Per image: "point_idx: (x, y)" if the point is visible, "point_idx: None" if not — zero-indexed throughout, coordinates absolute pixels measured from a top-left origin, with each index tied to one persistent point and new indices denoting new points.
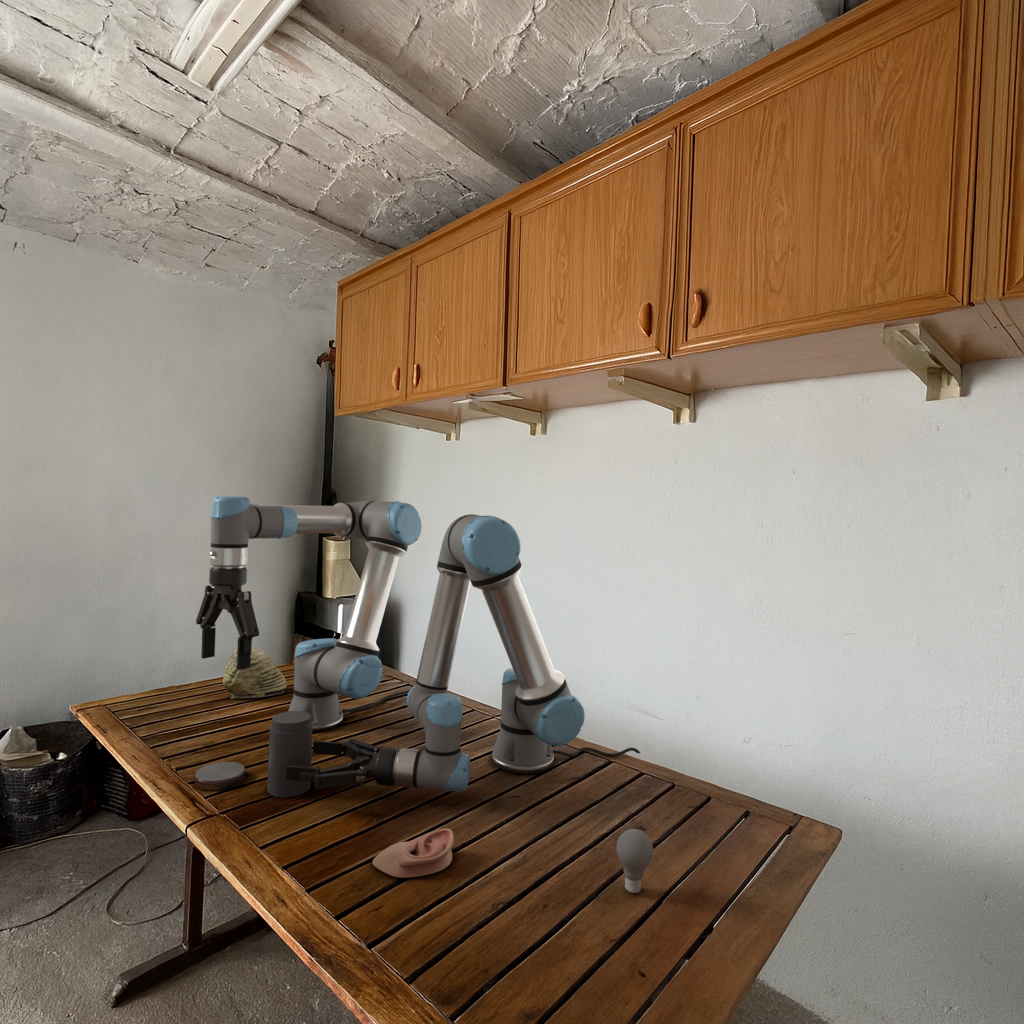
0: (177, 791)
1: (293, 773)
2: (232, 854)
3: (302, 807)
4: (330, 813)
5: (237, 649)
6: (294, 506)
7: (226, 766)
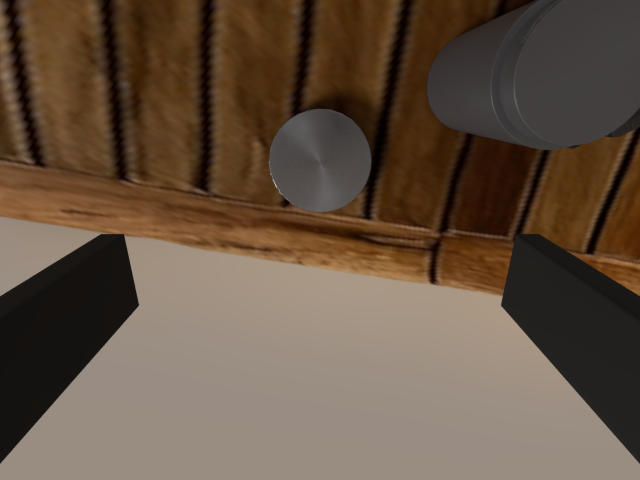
0: (303, 236)
1: None
2: None
3: None
4: None
5: (583, 397)
6: None
7: (309, 140)
